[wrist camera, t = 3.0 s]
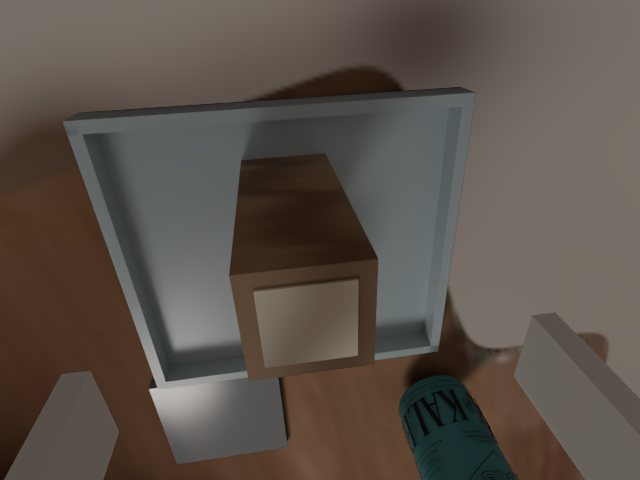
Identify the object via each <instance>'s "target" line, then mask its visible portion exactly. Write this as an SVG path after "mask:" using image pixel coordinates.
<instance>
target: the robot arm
mask: <svg viewBox="0 0 640 480" xmlns="http://www.w3.org/2000/svg"><path fill="white" fill-rule="evenodd" d="M514 378H515V379H516V380H517V382H518V383H519V385H520V386H521V388H522V389H523V391H524V392H525V393H526V395H527V396H528V398H529V399H530V401H531V402H532V403H533V405H534V406H535V408H536V409H537V411H538V412H539V414H540V415H541V416H542V418H543V419H544V421H545V422H546V424H547V425H548V426H549V428H550V429H551V431H552V432H553V434H554V435H555V437H556V438H557V439H558V441H559V442H560V444H561V445H562V447H563V448H564V449H565V451H566V452H567V454H568V455H569V457H570V458H571V460H572V461H573V462H574V464H575V465H576V467H577V468H578V470H579V471H580V472H581V474H582V475H583V477H584V478H585V480H640V398H638V396H637V395H636V394H635V393H634V392H633V391H632V390H631V389H630V388H629V387H628V386H627V385H626V384H625V383H624V382H622V380H621V379H620V378H619V377H618V376H617V375H616V374H615V373H614V372H613V371H612V370H611V369H610V368H609V367H608V366H607V365H606V364H605V363H604V362H603V361H602V360H601V359H600V358H599V357H598V356H597V355H596V353H595V352H594V351H593V350H592V349H591V348H590V347H589V346H588V345H587V344H586V343H585V342H584V341H583V340H582V339H581V338H580V337H579V336H578V335H577V334H576V333H575V332H574V331H573V330H572V329H571V328H570V327H569V326H568V325H567V324H566V323H565V322H564V321H563V320H562V319H561V318H560V317H559V316H558V315H557V314H556V313H548V314H540V315H533V316H532V318H531V322H530V325H529V328H528V331H527V335H526V338H525V341H524V345H523V348H522V351H521V355H520V358H519V361H518V365H517V368H516V371H515V375H514ZM118 434H119V430H118V428H117V426H116V424H115V422H114V419H113V417H112V415H111V413H110V411H109V409H108V407H107V405H106V403H105V400H104V398H103V396H102V394H101V392H100V390H99V388H98V386H97V384H96V382H95V379H94V377H93V375H92V373H91V371H83V372H75V373H67V374H61V376H60V378H59V380H58V382H57V383H56V385H55V387H54V389H53V391H52V393H51V394H50V396H49V398H48V400H47V402H46V404H45V405H44V407H43V409H42V411H41V413H40V415H39V416H38V418H37V420H36V422H35V424H34V426H33V427H32V429H31V431H30V433H29V435H28V437H27V438H26V440H25V442H24V444H23V446H22V448H21V449H20V451H19V453H18V455H17V457H16V459H15V460H14V462H13V464H12V466H11V468H10V470H9V472H8V473H7V475H6V477H5V479H4V480H103V479H104V476H105V473H106V470H107V467H108V464H109V461H110V458H111V455H112V452H113V449H114V446H115V443H116V440H117V437H118Z"/></svg>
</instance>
